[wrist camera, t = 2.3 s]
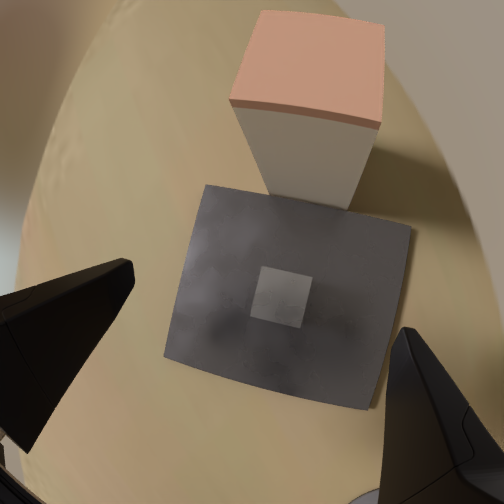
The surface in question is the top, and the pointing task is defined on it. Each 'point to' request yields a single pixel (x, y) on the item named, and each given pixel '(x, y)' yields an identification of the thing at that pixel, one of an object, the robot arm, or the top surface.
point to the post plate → (288, 296)
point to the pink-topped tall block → (311, 103)
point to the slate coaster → (367, 498)
